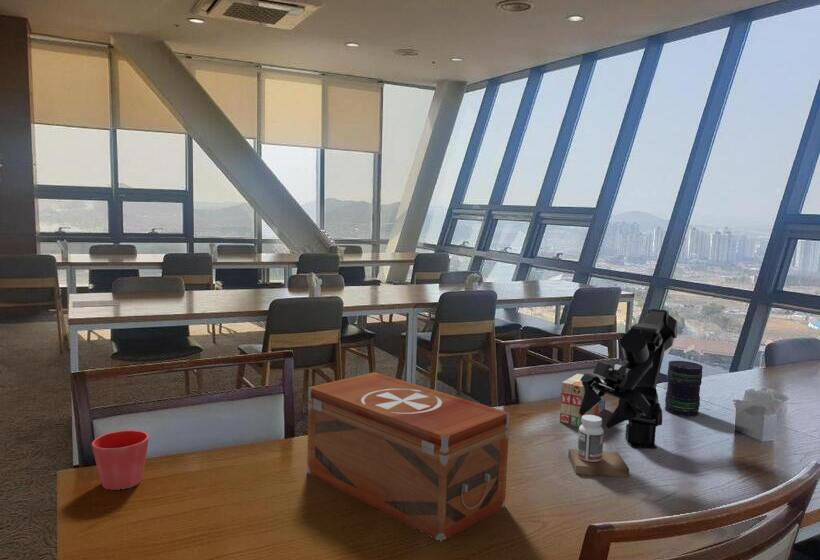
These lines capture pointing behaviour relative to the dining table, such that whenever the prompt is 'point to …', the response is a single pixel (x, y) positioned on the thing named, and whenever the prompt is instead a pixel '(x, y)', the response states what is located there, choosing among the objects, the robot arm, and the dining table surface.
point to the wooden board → (600, 464)
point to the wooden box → (409, 451)
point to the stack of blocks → (576, 401)
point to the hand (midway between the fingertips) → (593, 420)
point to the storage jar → (683, 388)
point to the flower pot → (120, 458)
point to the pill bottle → (590, 438)
